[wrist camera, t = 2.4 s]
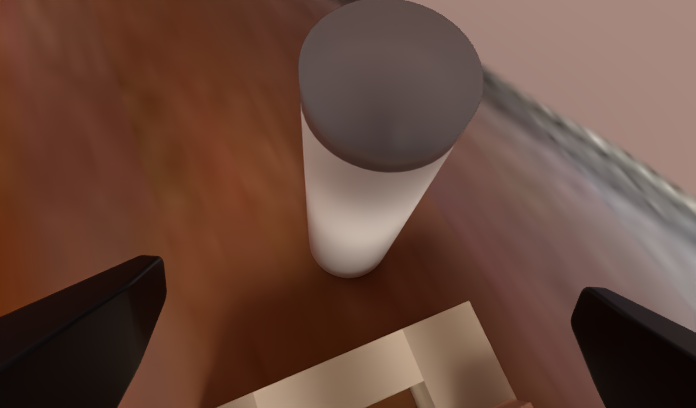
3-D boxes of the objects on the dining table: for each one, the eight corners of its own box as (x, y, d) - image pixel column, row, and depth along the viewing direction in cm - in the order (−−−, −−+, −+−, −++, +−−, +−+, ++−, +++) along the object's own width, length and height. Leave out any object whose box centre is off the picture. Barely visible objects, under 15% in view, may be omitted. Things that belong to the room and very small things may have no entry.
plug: (325, 290, 20) (339, 176, 8) (297, 217, 21) (273, 21, 9) (399, 261, 21) (517, 117, 9) (369, 192, 22) (434, -18, 10)
